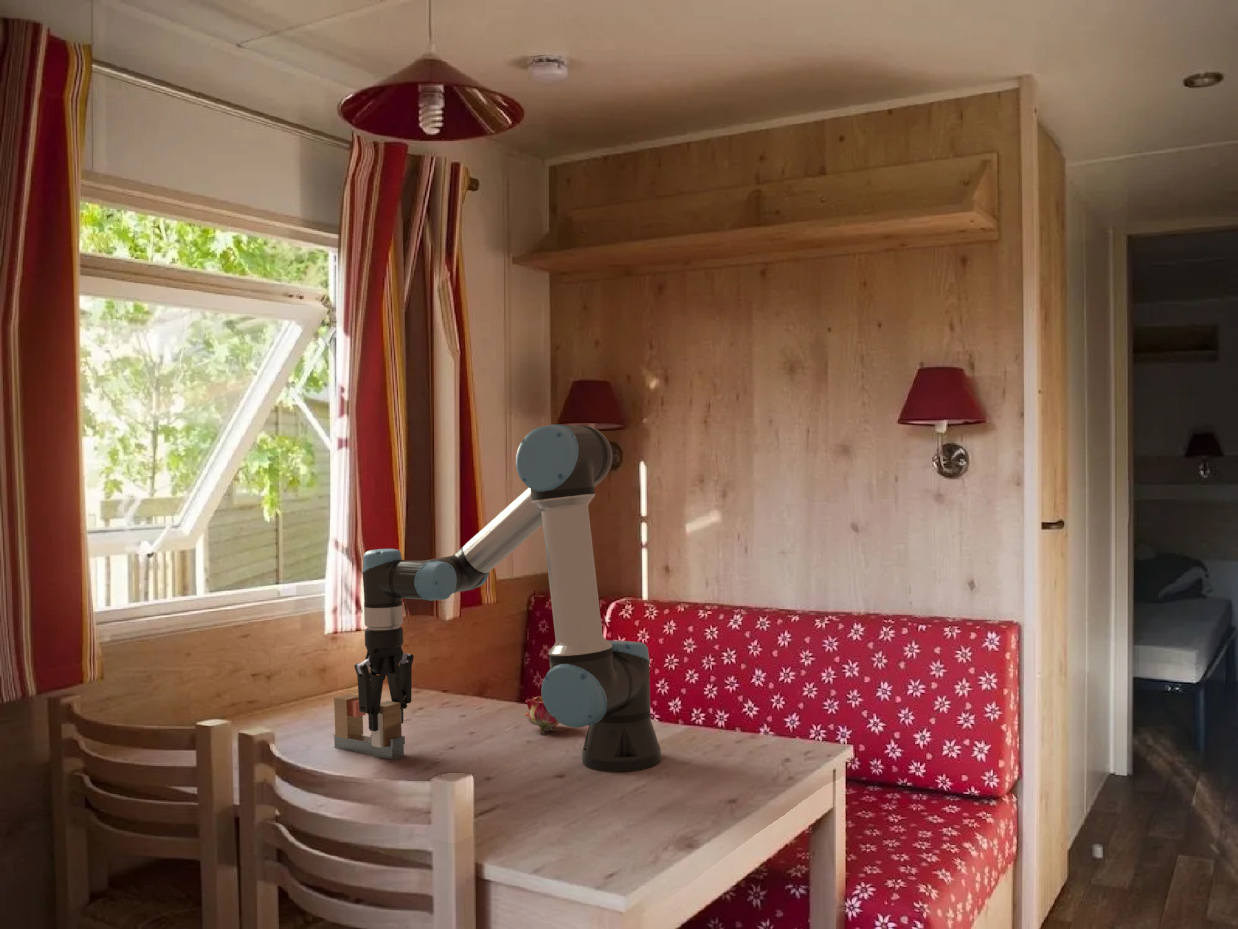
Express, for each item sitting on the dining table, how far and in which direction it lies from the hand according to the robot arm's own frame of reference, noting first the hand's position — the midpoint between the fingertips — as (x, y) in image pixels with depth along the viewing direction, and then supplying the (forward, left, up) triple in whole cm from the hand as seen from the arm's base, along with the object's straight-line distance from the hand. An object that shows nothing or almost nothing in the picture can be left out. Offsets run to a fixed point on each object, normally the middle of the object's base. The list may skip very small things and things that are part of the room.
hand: (386, 743), depth 221 cm
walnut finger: (0, 0, 0) cm, 0 cm away
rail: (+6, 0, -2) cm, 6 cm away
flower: (-14, -32, -3) cm, 35 cm away
